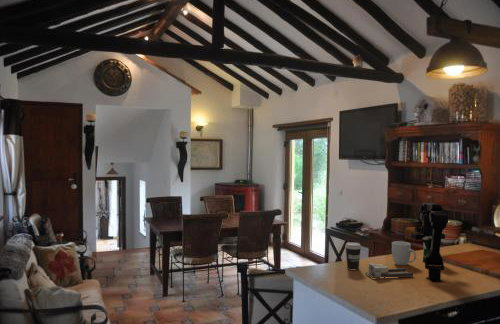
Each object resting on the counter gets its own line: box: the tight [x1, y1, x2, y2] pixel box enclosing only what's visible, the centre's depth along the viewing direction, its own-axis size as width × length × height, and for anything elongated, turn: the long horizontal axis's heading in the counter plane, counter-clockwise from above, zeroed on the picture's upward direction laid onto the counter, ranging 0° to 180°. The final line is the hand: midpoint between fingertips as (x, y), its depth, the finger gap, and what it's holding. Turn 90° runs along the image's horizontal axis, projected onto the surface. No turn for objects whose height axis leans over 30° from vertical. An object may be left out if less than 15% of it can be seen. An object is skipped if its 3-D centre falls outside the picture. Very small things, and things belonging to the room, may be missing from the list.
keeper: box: [376, 263, 389, 274], centre depth 223 cm, size 6×5×4 cm
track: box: [365, 262, 414, 278], centre depth 224 cm, size 9×24×6 cm, turn 98°
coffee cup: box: [344, 241, 362, 270], centre depth 237 cm, size 10×10×15 cm
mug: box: [391, 240, 417, 266], centre depth 245 cm, size 15×11×13 cm
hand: (427, 250), depth 232 cm, fingers closed
